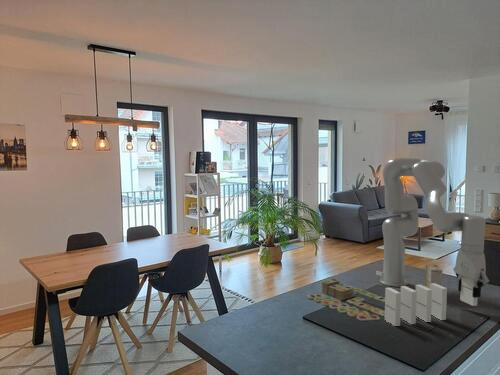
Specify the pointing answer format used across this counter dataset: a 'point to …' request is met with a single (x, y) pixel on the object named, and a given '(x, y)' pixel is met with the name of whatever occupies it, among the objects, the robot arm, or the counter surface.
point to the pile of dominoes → (345, 292)
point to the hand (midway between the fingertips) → (469, 293)
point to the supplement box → (433, 275)
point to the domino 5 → (467, 291)
